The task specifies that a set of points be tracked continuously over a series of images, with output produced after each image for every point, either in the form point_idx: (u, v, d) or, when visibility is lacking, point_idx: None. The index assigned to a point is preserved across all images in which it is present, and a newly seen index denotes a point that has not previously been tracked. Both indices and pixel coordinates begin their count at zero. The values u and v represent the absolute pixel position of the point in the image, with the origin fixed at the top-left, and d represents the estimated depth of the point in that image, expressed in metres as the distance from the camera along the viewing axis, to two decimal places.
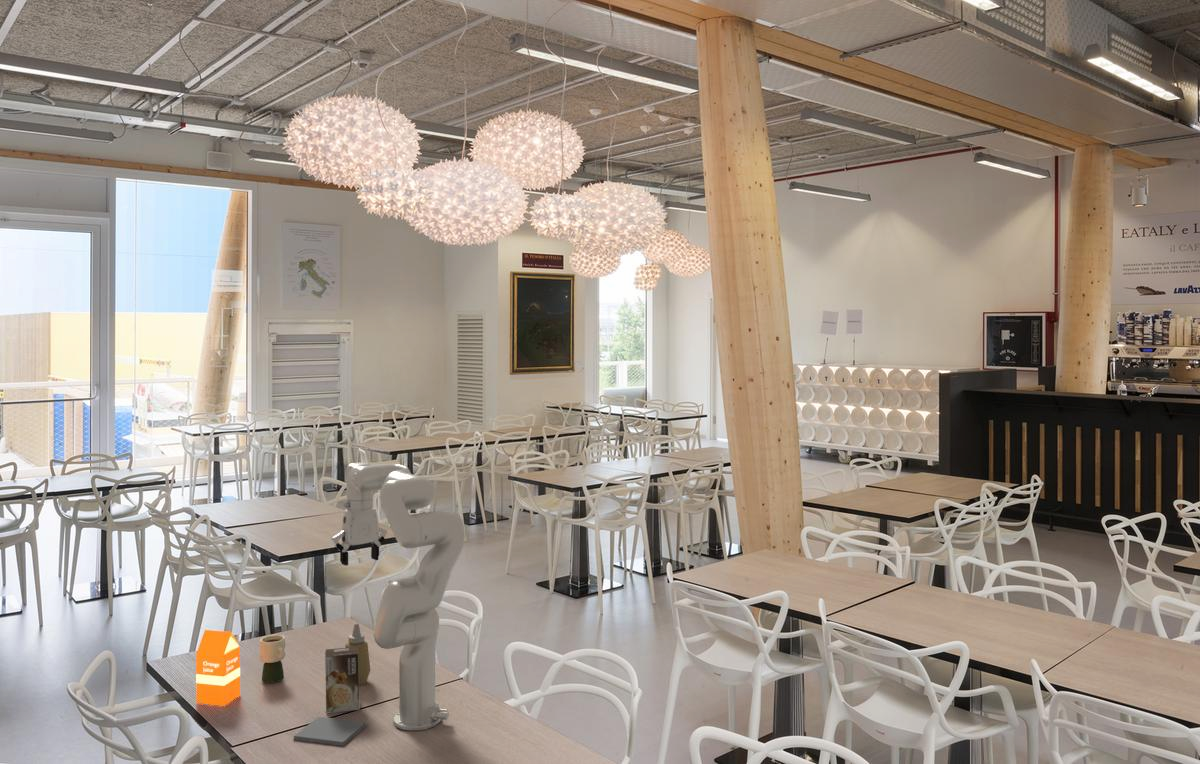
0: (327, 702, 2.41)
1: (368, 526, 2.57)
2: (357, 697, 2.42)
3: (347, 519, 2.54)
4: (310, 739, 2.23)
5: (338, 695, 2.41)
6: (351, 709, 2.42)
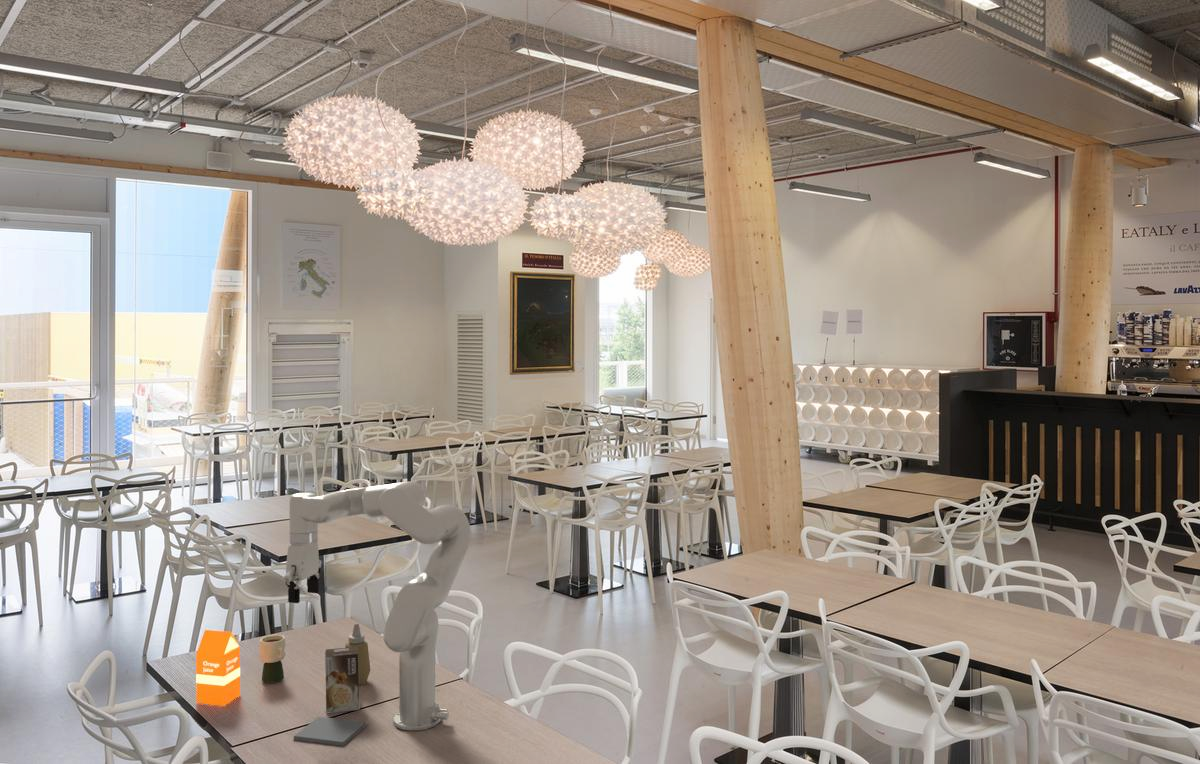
0: (327, 702, 2.41)
1: None
2: (357, 697, 2.42)
3: None
4: (310, 739, 2.23)
5: (338, 695, 2.41)
6: (351, 709, 2.42)
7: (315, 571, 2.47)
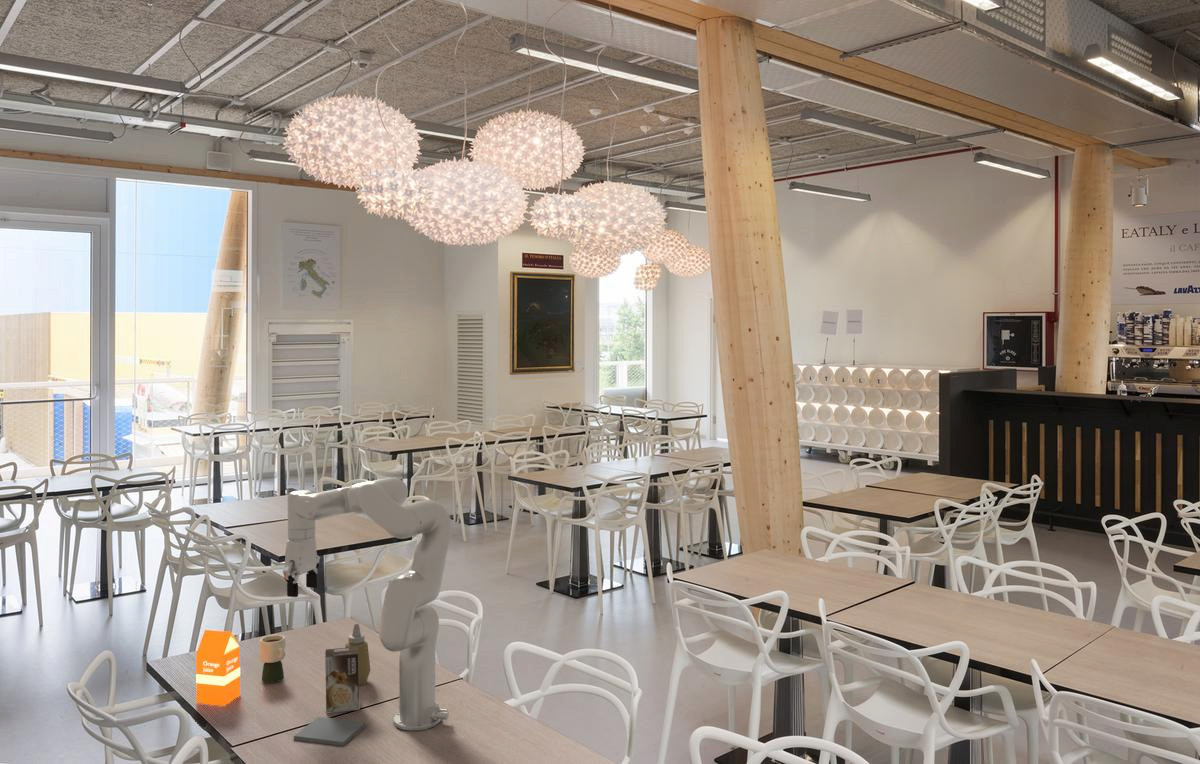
0: (327, 702, 2.41)
1: None
2: (357, 697, 2.42)
3: None
4: (310, 739, 2.23)
5: (338, 695, 2.41)
6: (351, 709, 2.42)
7: (313, 566, 2.55)
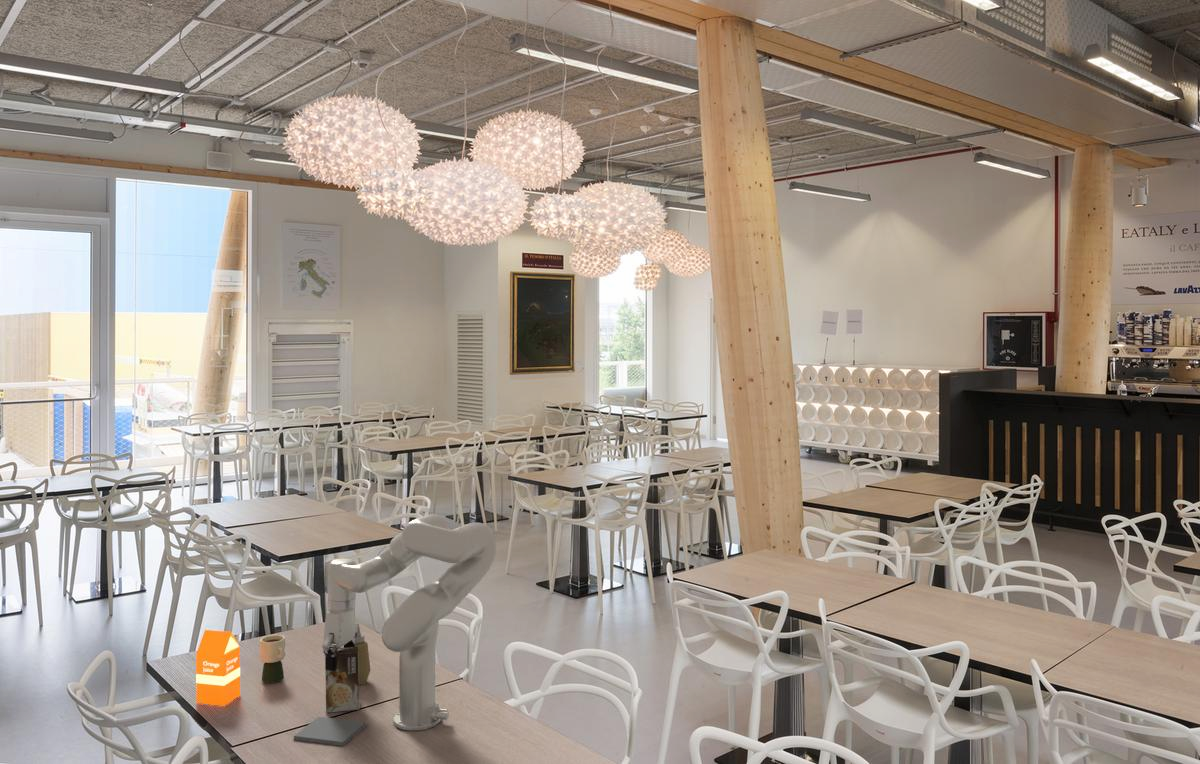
0: (327, 701, 2.41)
1: None
2: (357, 697, 2.43)
3: None
4: (310, 739, 2.23)
5: (338, 694, 2.41)
6: (351, 709, 2.42)
7: (351, 637, 2.46)
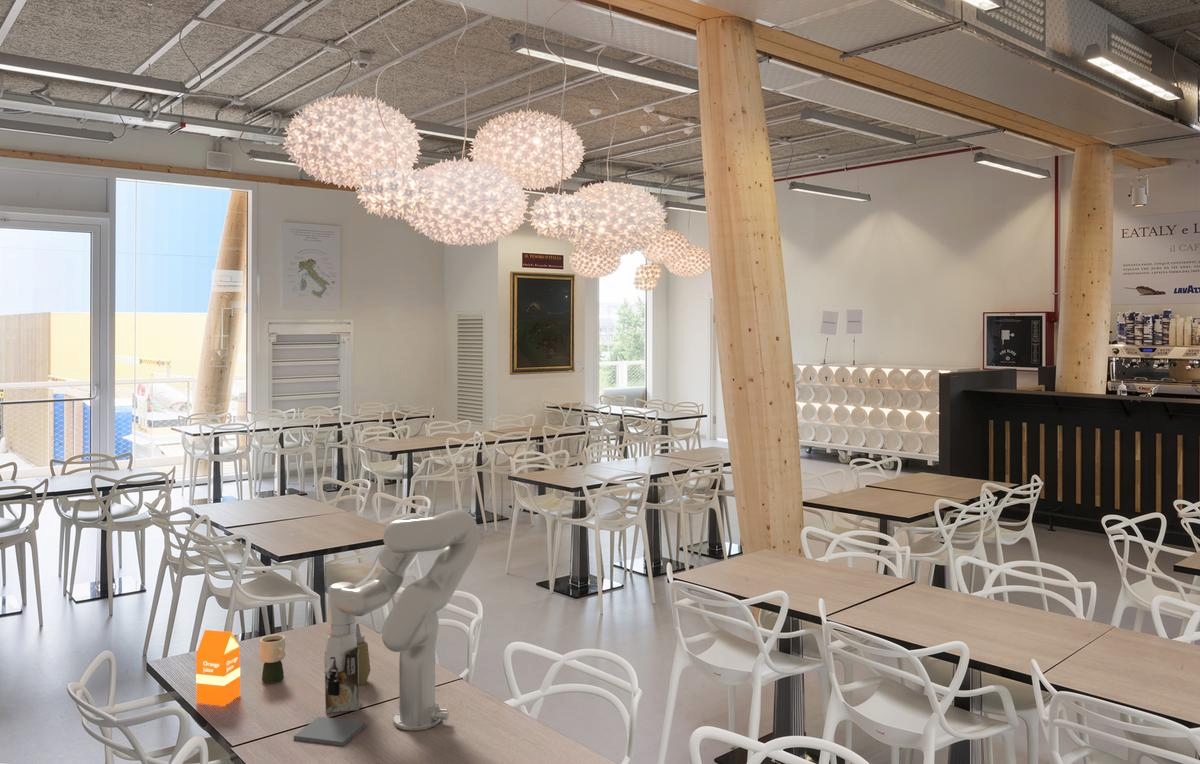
0: (326, 702, 2.41)
1: None
2: (356, 697, 2.42)
3: None
4: (310, 739, 2.23)
5: (338, 695, 2.41)
6: (350, 709, 2.42)
7: None
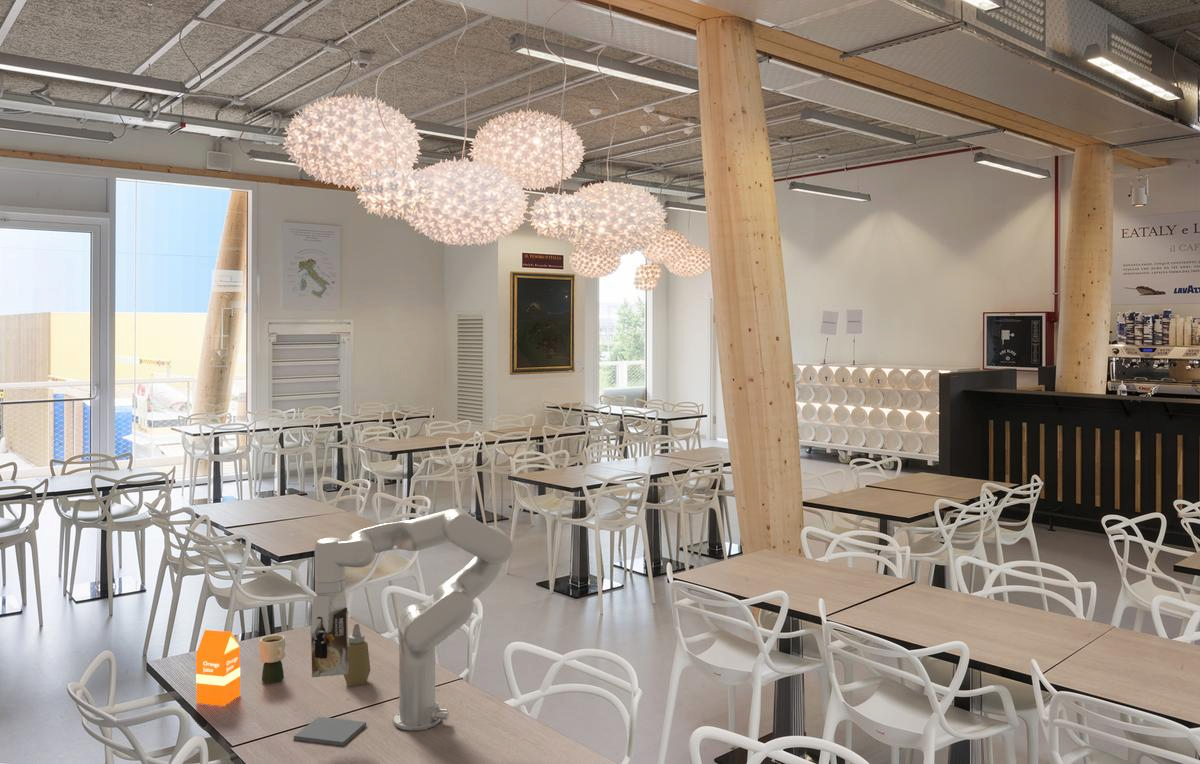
0: (313, 665, 2.24)
1: None
2: (345, 661, 2.26)
3: None
4: (310, 739, 2.23)
5: (325, 658, 2.25)
6: (339, 673, 2.26)
7: None
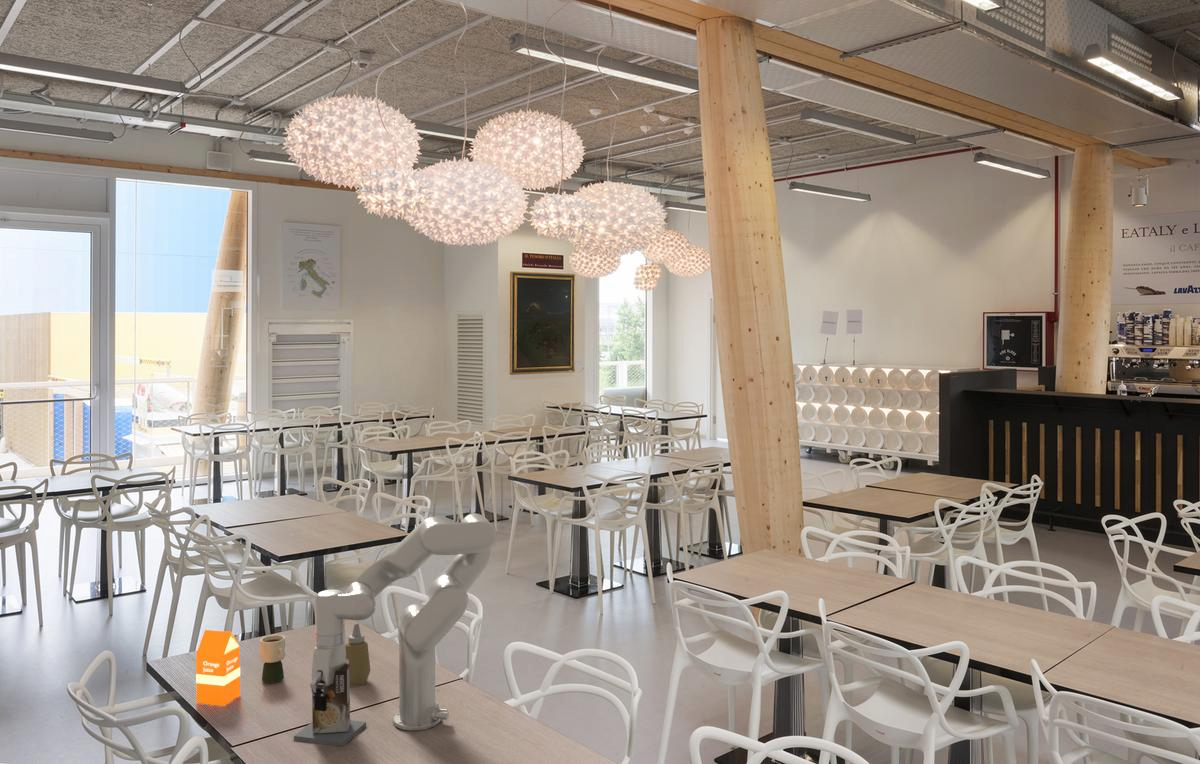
0: (313, 722, 2.25)
1: None
2: (345, 718, 2.26)
3: None
4: (310, 739, 2.23)
5: (326, 714, 2.26)
6: (339, 730, 2.26)
7: None
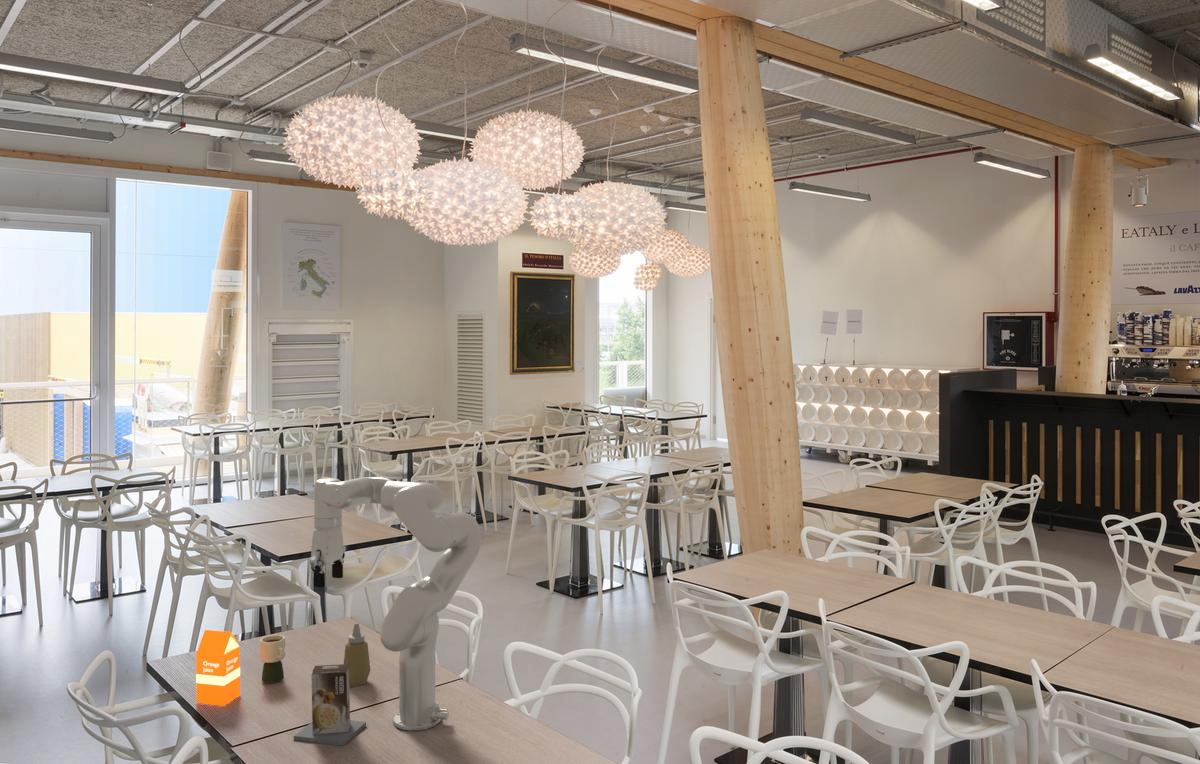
0: (313, 723, 2.25)
1: None
2: (345, 718, 2.26)
3: None
4: (310, 739, 2.23)
5: (325, 715, 2.25)
6: (339, 731, 2.26)
7: (339, 556, 2.49)
